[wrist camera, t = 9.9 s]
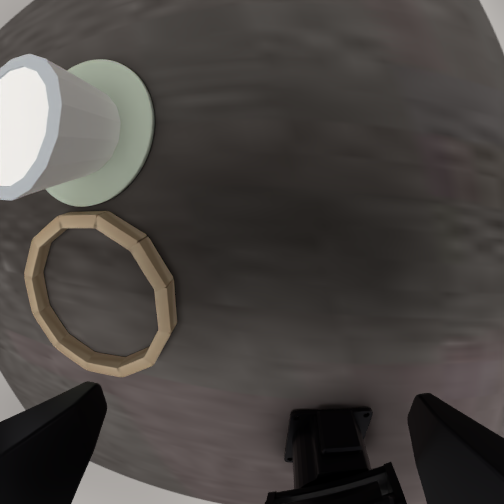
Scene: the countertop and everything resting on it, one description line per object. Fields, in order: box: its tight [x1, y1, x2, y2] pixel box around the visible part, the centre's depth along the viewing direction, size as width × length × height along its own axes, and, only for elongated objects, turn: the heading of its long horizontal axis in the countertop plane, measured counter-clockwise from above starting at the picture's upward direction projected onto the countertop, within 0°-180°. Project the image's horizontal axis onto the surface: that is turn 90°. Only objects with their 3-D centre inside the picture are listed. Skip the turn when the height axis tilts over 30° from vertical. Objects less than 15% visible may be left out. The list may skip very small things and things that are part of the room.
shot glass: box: [0, 54, 121, 200], centre depth 13 cm, size 7×7×7 cm
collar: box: [24, 211, 177, 377], centre depth 19 cm, size 12×12×2 cm
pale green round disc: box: [46, 59, 155, 207], centre depth 17 cm, size 10×10×1 cm
